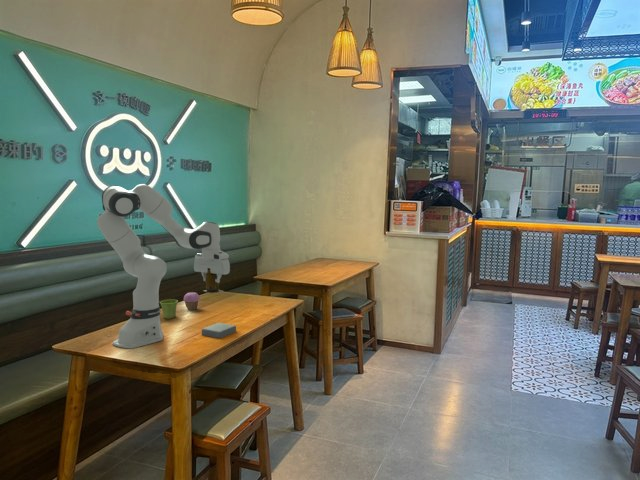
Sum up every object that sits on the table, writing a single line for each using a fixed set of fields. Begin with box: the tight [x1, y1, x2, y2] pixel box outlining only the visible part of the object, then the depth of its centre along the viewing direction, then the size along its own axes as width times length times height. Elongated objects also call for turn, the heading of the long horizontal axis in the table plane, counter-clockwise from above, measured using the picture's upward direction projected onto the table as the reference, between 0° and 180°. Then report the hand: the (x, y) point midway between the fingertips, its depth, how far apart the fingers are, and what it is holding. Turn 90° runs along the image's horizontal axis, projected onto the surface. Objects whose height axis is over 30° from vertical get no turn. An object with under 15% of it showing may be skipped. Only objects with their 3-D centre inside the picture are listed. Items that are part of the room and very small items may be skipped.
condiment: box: [202, 268, 224, 294], centre depth 231 cm, size 7×8×12 cm
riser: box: [201, 322, 237, 339], centre depth 223 cm, size 12×11×3 cm
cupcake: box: [183, 292, 201, 311], centre depth 266 cm, size 9×9×10 cm
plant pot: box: [159, 299, 179, 319], centre depth 250 cm, size 9×9×9 cm
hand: (211, 281), depth 231 cm, fingers closed on condiment, 6 cm apart
